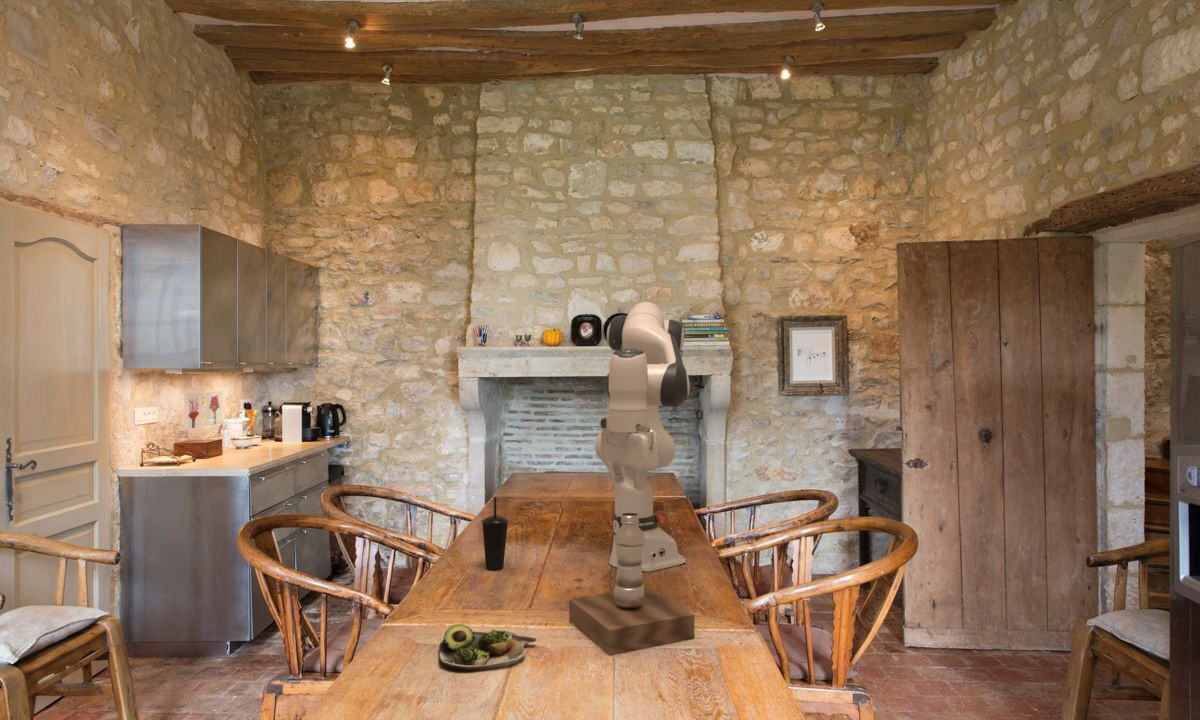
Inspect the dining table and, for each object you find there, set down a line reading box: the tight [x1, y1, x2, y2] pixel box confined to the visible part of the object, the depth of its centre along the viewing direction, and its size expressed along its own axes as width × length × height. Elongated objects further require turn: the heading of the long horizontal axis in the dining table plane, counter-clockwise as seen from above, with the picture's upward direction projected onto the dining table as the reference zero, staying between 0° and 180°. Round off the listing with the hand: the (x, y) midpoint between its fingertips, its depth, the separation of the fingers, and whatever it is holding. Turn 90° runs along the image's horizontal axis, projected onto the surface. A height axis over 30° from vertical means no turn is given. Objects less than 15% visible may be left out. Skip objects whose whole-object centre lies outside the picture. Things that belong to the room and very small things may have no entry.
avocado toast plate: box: [438, 623, 537, 673], centre depth 138 cm, size 19×18×5 cm
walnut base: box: [568, 586, 695, 656], centre depth 150 cm, size 20×20×5 cm
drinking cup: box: [481, 496, 510, 572], centre depth 195 cm, size 8×8×20 cm
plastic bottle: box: [613, 513, 645, 608], centre depth 150 cm, size 6×7×20 cm
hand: (628, 485), depth 152 cm, fingers open, 8 cm apart
